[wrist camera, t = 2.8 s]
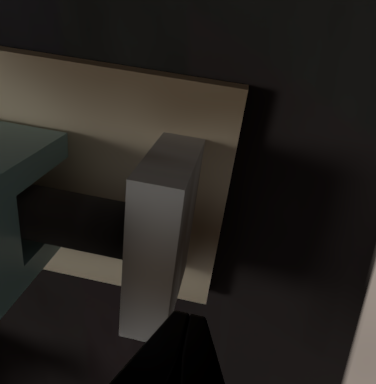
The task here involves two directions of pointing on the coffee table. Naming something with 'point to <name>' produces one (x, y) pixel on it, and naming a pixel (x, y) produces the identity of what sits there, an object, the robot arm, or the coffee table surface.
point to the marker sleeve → (7, 203)
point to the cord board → (127, 175)
